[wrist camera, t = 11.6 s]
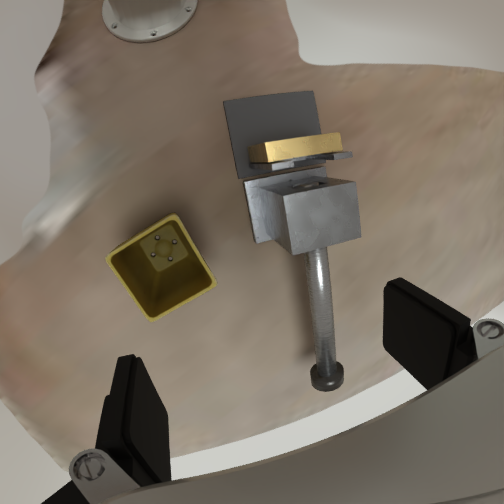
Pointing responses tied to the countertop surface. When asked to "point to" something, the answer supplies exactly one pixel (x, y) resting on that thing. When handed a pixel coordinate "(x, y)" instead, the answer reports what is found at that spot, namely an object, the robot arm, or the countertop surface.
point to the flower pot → (161, 268)
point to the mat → (270, 125)
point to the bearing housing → (303, 210)
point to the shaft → (322, 317)
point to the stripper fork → (290, 162)
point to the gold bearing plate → (295, 147)
